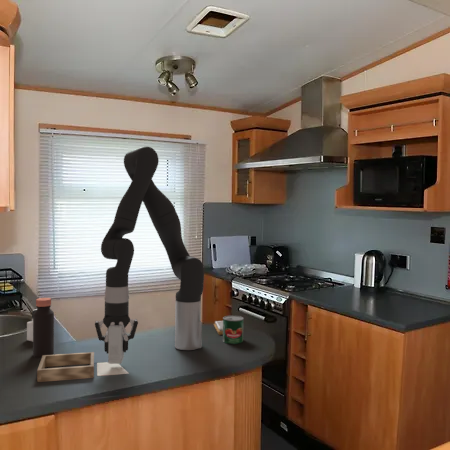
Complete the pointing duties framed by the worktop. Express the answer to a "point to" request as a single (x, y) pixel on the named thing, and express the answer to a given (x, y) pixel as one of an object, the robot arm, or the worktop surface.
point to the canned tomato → (233, 329)
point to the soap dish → (219, 327)
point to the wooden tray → (66, 372)
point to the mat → (109, 369)
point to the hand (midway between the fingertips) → (116, 352)
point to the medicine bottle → (30, 328)
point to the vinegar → (43, 328)
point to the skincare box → (115, 345)
